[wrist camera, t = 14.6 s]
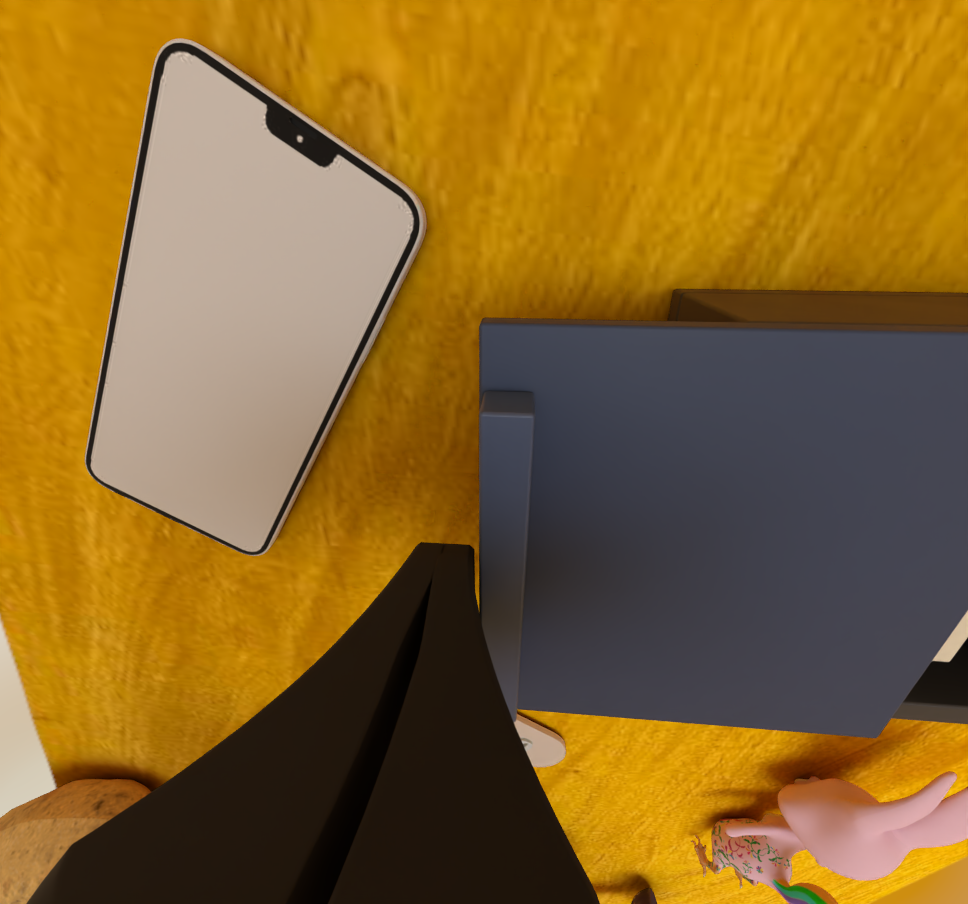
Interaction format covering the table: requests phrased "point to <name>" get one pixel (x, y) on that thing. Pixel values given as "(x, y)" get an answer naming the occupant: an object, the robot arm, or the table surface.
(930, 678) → the charcoal case
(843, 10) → the table surface
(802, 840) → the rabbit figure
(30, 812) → the potato
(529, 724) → the keychain
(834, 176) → the table surface
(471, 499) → the table surface
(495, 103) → the table surface
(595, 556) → the cover
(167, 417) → the smartphone
